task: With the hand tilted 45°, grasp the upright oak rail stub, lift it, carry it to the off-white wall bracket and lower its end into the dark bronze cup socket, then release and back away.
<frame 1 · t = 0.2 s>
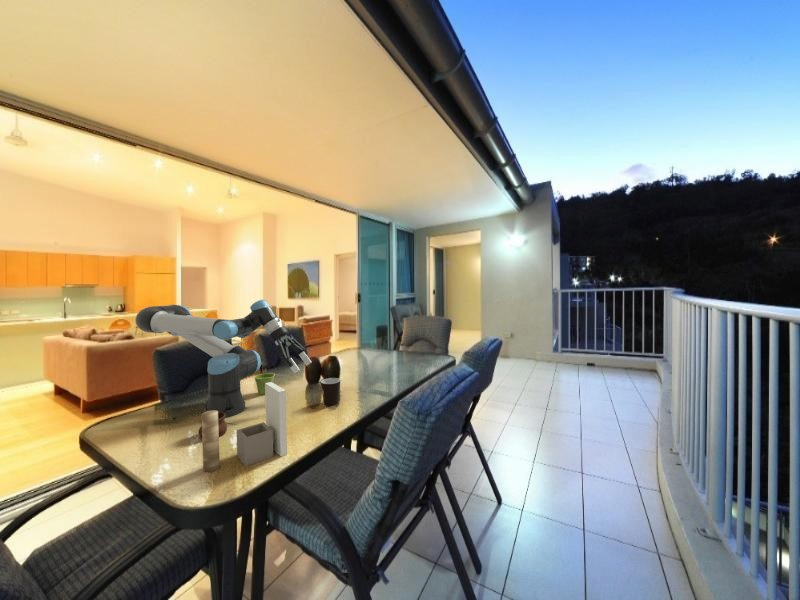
hand: (303, 367, 140), 15 cm above the table, tool tilted 35°, fingers open, 13 cm apart
oak rail: (211, 468, 88), on the table
ceramic pot: (213, 435, 109), on the table
coffee mug: (332, 402, 139), on the table
cup bracket: (255, 455, 94), on the table
plant pot: (265, 393, 152), on the table
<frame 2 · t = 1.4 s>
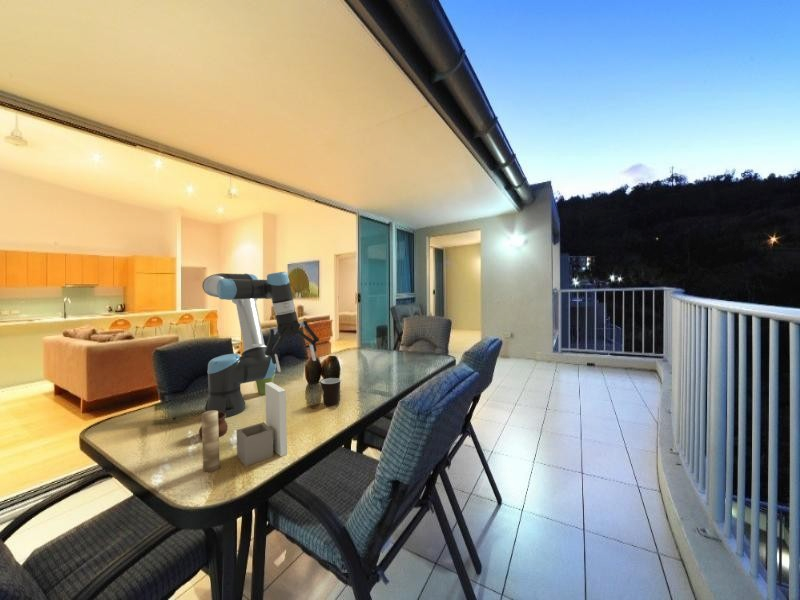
hand: (297, 365, 119), 21 cm above the table, tool pointing down, fingers open, 13 cm apart
nothing on the table moved.
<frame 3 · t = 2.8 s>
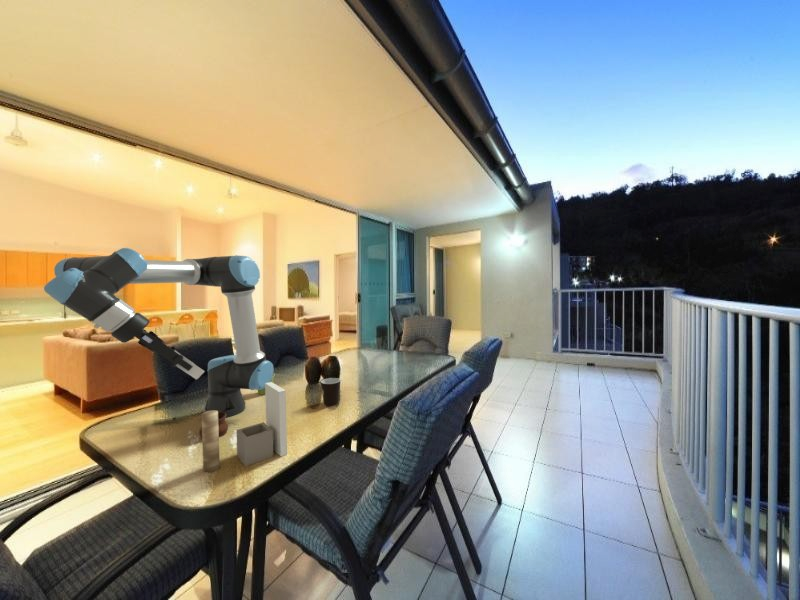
hand: (195, 371, 88), 28 cm above the table, tool tilted 45°, fingers open, 13 cm apart
nothing on the table moved.
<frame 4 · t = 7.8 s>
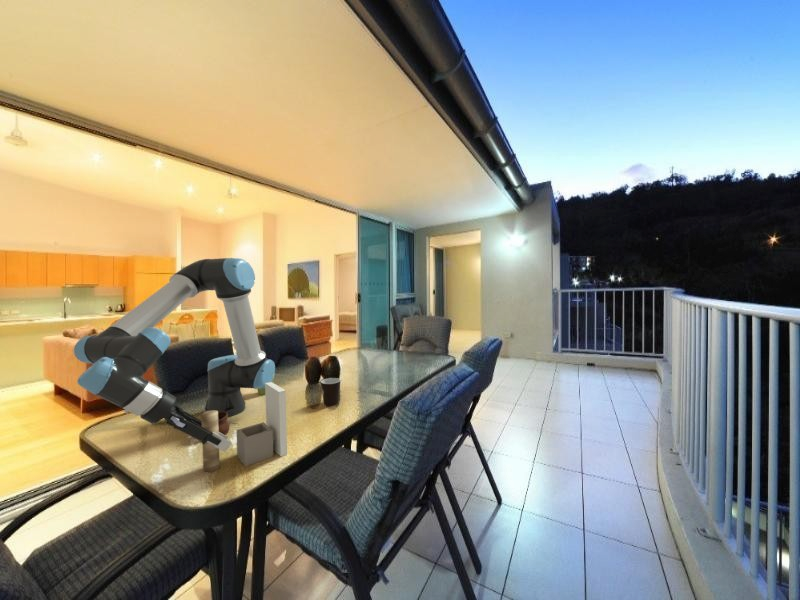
hand: (225, 443, 90), 6 cm above the table, tool tilted 45°, fingers closed on oak rail, 4 cm apart
oak rail: (211, 468, 88), on the table, touching gripper
everything else where it was.
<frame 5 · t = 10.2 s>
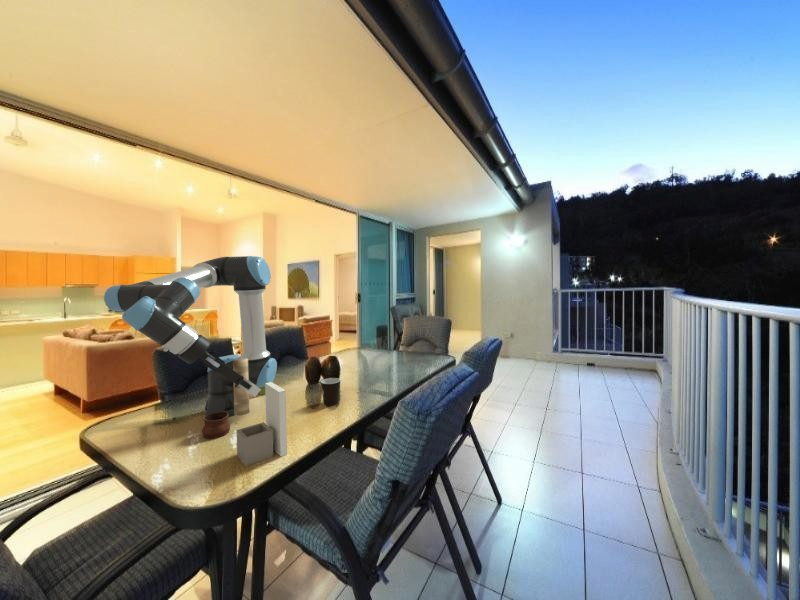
hand: (255, 391, 94), 20 cm above the table, tool tilted 45°, fingers closed on oak rail, 4 cm apart
oak rail: (242, 412, 91), point 14 cm above the table, touching gripper
everything else where it was.
when the fingers open (11 cm above the table, at t = 12.9 s): oak rail drops 1 cm, resting on cup bracket.
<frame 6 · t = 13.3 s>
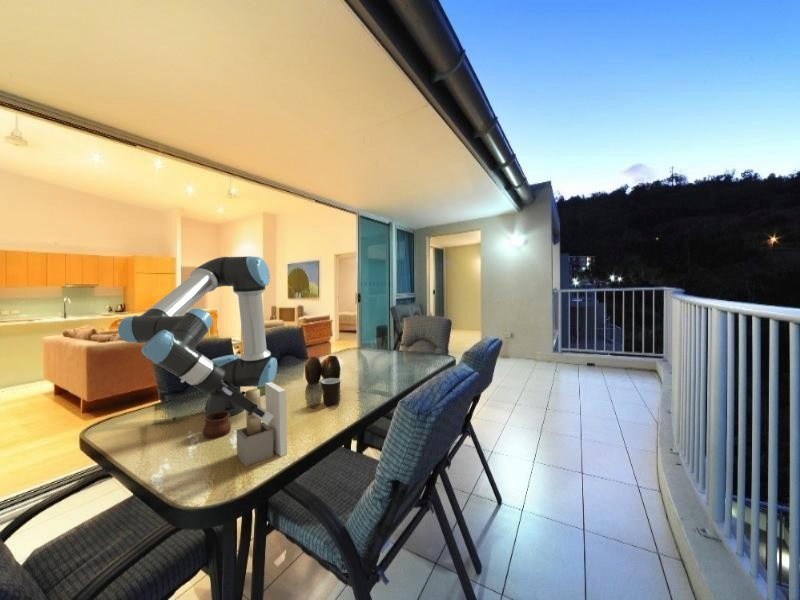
hand: (264, 414, 95), 12 cm above the table, tool tilted 45°, fingers open, 10 cm apart
oak rail: (254, 442, 94), point 4 cm above the table, touching cup bracket
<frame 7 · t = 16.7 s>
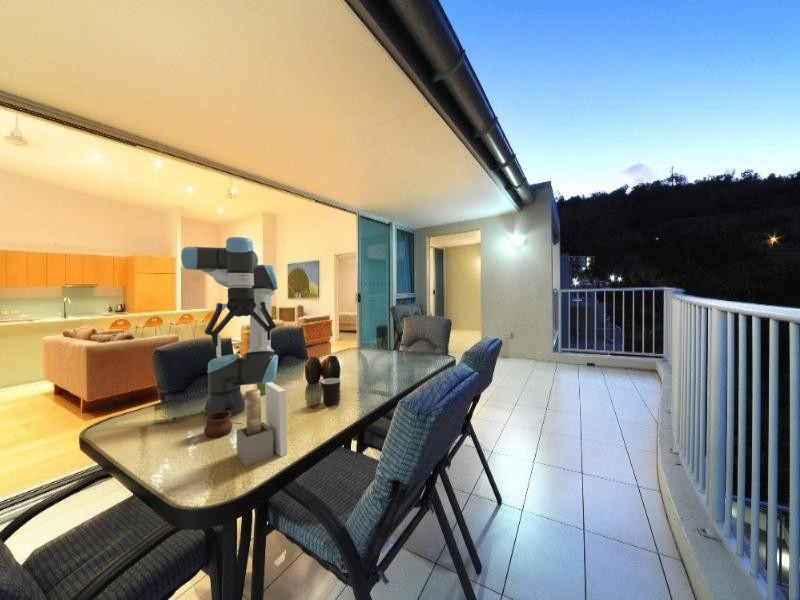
hand: (243, 353, 98), 31 cm above the table, tool pointing down, fingers open, 13 cm apart
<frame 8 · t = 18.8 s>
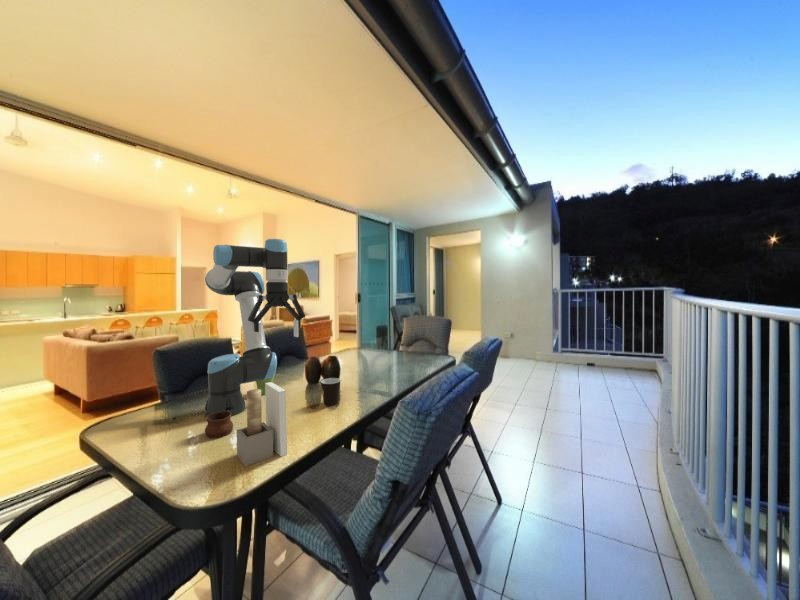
hand: (278, 338, 114), 33 cm above the table, tool pointing down, fingers open, 13 cm apart
at the end: oak rail 0.0 cm off-centre on the cup bracket, point 4.0 cm above the cup bracket's base; oak rail tilted 1°; the gripper is holding nothing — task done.
